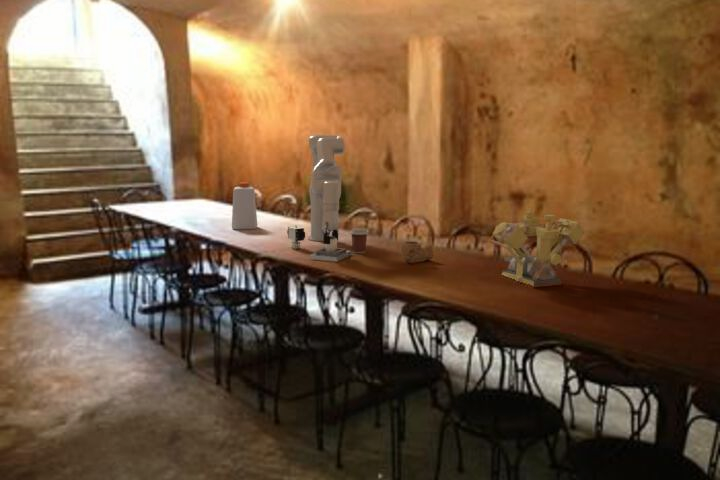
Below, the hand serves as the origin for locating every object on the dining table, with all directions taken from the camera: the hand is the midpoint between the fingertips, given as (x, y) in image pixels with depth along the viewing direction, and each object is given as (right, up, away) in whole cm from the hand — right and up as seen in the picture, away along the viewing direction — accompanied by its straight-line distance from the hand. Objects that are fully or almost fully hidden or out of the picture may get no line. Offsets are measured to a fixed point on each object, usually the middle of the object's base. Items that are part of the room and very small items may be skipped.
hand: (330, 242), depth 296 cm
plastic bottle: (-57, +8, +82) cm, 100 cm away
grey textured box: (+41, -10, -8) cm, 43 cm away
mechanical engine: (+85, -16, -42) cm, 96 cm away
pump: (0, -5, +1) cm, 5 cm away
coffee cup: (+14, -5, +14) cm, 20 cm away
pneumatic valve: (-19, -3, +22) cm, 29 cm away
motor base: (0, -7, +1) cm, 7 cm away
